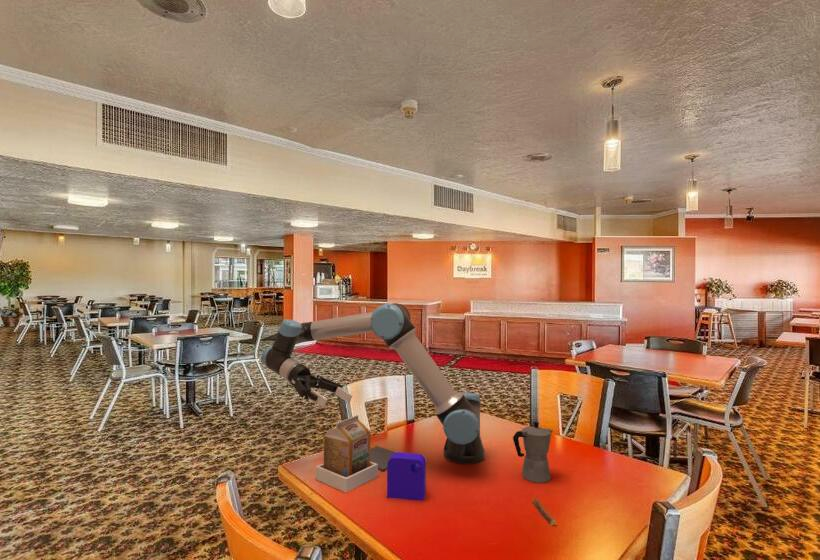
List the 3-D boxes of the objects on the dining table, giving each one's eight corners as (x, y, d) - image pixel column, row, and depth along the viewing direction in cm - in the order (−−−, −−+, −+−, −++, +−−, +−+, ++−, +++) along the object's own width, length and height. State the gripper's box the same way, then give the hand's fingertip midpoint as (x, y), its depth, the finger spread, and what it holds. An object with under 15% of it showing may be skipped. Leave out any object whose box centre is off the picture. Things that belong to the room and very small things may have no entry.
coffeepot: (543, 468, 145) (543, 416, 145) (562, 480, 136) (562, 424, 137) (505, 474, 140) (505, 420, 140) (522, 487, 131) (522, 429, 131)
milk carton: (348, 488, 129) (349, 426, 130) (323, 480, 135) (324, 420, 135) (369, 475, 138) (370, 417, 138) (345, 468, 144) (345, 412, 144)
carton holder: (377, 476, 138) (378, 464, 138) (345, 492, 126) (346, 479, 126) (347, 465, 146) (347, 453, 146) (315, 479, 135) (315, 466, 135)
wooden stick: (539, 504, 121) (539, 496, 122) (558, 527, 110) (558, 519, 110) (530, 504, 121) (531, 496, 121) (548, 528, 109) (548, 519, 109)
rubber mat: (409, 458, 152) (409, 456, 152) (383, 471, 141) (383, 469, 141) (376, 448, 162) (376, 446, 162) (350, 459, 151) (350, 457, 151)
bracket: (423, 501, 122) (424, 460, 122) (386, 497, 124) (387, 457, 124) (430, 474, 140) (430, 438, 140) (398, 471, 141) (398, 436, 142)
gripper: (314, 380, 162) (355, 407, 151) (265, 385, 140) (309, 416, 129) (321, 362, 161) (363, 387, 151) (273, 364, 139) (318, 394, 129)
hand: (338, 401), depth 140 cm, fingers open, 13 cm apart
